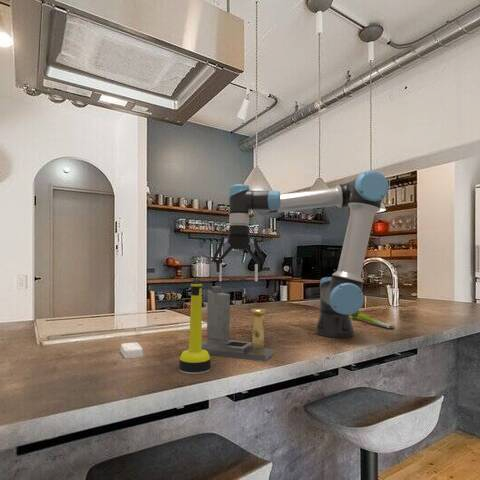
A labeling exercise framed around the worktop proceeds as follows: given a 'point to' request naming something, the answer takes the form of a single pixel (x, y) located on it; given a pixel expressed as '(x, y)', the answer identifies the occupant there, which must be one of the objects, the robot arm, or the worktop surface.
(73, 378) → the worktop surface
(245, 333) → the worktop surface
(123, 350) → the soap
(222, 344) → the grey socket base
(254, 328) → the pin
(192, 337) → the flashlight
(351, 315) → the leek
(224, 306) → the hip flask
